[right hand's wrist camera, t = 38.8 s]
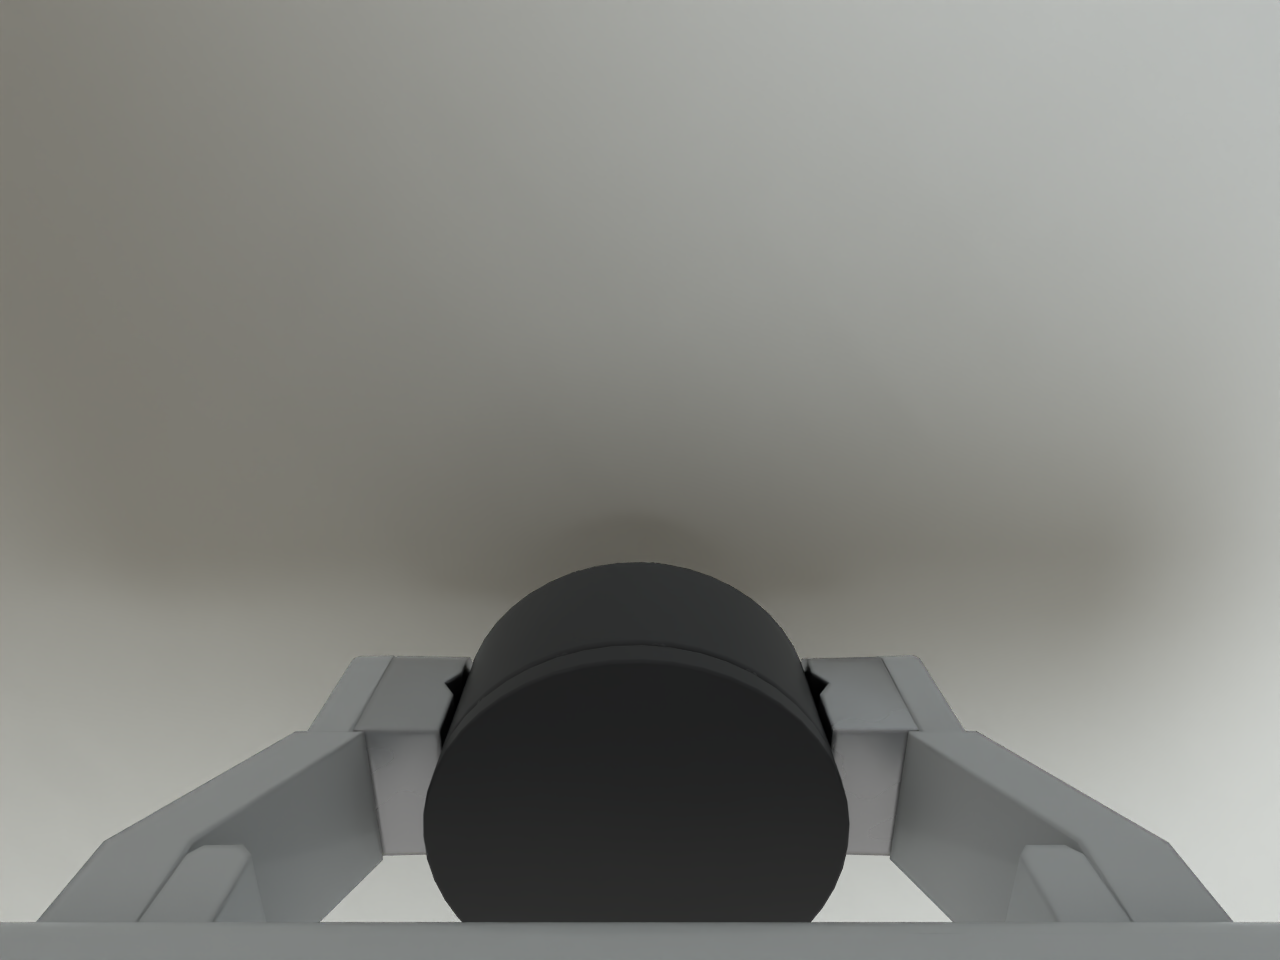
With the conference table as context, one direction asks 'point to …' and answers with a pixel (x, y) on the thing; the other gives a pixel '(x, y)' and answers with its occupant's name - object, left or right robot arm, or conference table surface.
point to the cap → (636, 761)
